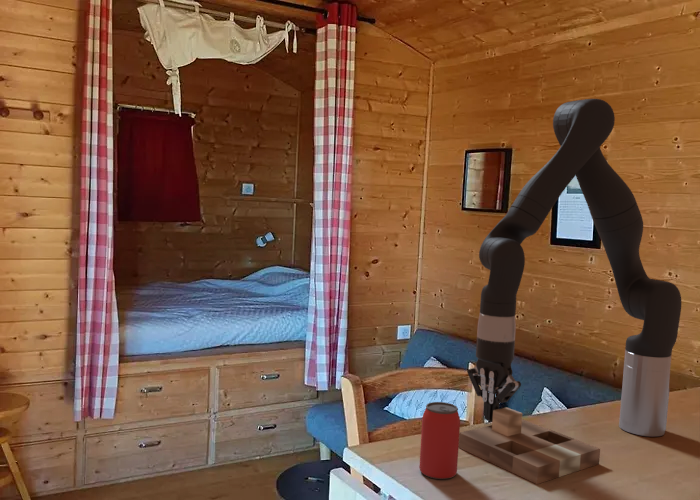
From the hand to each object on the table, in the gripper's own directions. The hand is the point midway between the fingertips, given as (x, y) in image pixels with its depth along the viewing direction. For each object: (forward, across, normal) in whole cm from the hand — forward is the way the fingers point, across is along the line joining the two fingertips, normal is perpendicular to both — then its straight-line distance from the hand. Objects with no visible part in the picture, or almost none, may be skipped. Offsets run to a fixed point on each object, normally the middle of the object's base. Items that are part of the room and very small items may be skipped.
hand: (490, 420), depth 135 cm
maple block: (+1, -4, 0) cm, 5 cm away
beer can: (+4, -8, +21) cm, 23 cm away
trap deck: (+4, -10, 0) cm, 11 cm away
